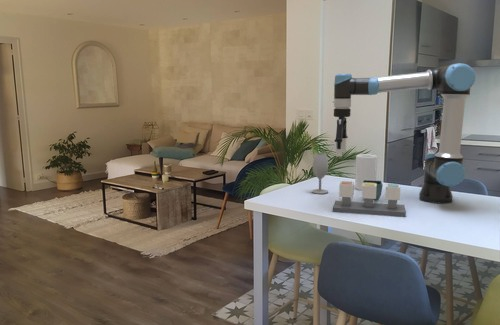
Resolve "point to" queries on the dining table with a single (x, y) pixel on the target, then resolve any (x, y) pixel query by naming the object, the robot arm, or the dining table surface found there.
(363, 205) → the keypad
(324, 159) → the wineglass
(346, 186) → the key terracotta
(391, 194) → the key teal
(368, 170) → the cup
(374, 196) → the key mustard
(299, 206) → the dining table surface
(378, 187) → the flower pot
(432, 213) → the dining table surface
